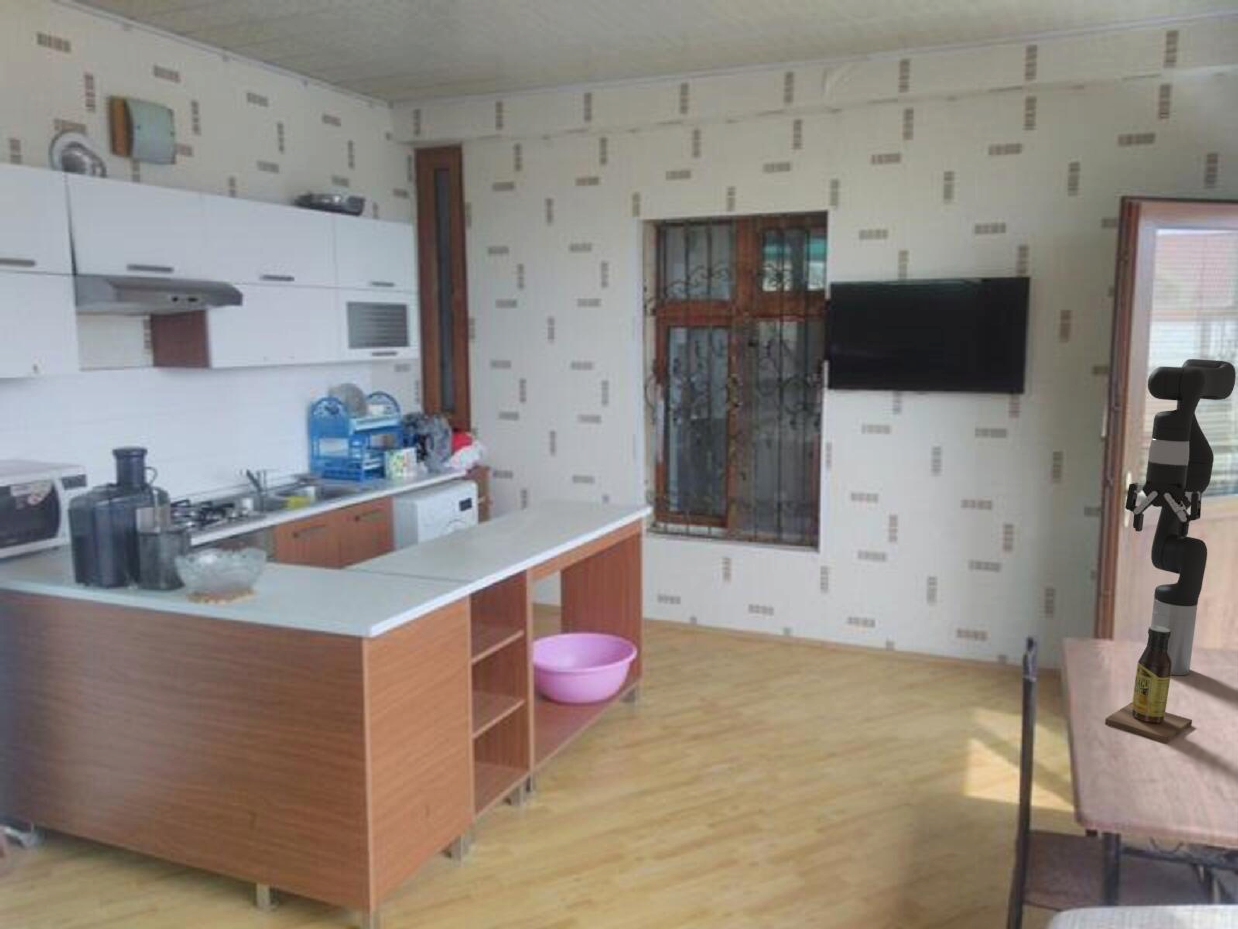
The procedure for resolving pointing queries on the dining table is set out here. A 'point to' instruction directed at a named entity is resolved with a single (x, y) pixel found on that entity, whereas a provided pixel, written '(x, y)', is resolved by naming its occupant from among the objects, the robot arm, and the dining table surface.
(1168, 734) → the walnut board
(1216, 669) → the dining table surface
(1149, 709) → the sauce bottle
